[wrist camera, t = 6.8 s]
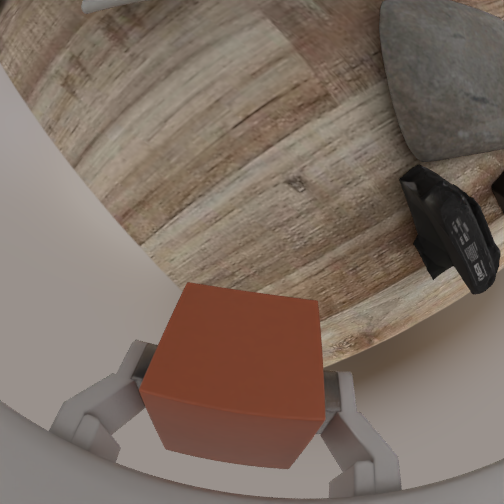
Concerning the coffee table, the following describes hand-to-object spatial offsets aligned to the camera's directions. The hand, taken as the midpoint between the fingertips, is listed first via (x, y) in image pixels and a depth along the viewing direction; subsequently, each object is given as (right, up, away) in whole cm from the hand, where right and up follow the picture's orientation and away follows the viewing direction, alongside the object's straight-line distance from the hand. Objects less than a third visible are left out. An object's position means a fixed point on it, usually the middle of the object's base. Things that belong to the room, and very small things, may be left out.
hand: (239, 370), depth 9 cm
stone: (+21, +12, +9) cm, 26 cm away
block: (0, +1, +2) cm, 2 cm away
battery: (+14, +3, +12) cm, 19 cm away
